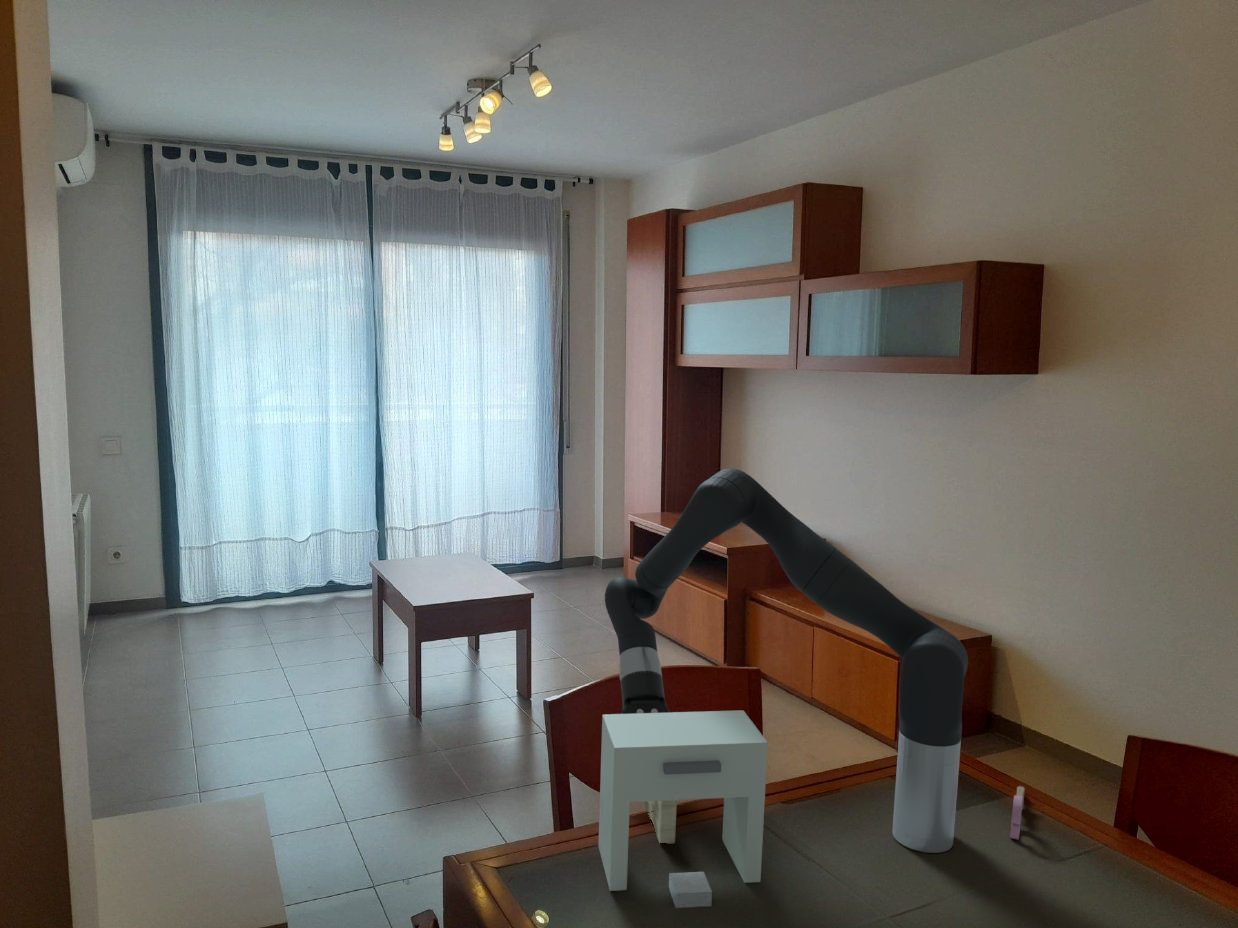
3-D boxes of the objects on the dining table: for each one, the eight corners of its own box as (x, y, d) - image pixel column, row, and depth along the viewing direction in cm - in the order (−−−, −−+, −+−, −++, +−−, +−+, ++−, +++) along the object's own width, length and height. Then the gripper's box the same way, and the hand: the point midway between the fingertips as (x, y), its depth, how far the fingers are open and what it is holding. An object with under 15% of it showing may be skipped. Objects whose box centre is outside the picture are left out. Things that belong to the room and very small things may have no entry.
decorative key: (1023, 811, 163) (1017, 843, 145) (1016, 809, 163) (1009, 841, 146) (1027, 772, 163) (1021, 800, 145) (1019, 771, 164) (1013, 798, 146)
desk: (598, 846, 141) (602, 714, 138) (737, 838, 144) (743, 710, 142) (611, 895, 128) (615, 751, 125) (763, 886, 131) (770, 745, 129)
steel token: (668, 888, 131) (669, 873, 130) (702, 887, 131) (703, 871, 131) (675, 909, 126) (676, 893, 125) (711, 907, 126) (711, 891, 126)
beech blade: (634, 778, 164) (635, 738, 163) (647, 778, 164) (649, 738, 163) (659, 843, 142) (661, 797, 141) (674, 842, 142) (677, 797, 142)
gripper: (605, 669, 161) (614, 767, 151) (682, 668, 163) (696, 764, 153) (600, 687, 167) (607, 782, 156) (674, 686, 169) (687, 779, 159)
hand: (651, 773), depth 155 cm, fingers closed on beech blade, 2 cm apart
